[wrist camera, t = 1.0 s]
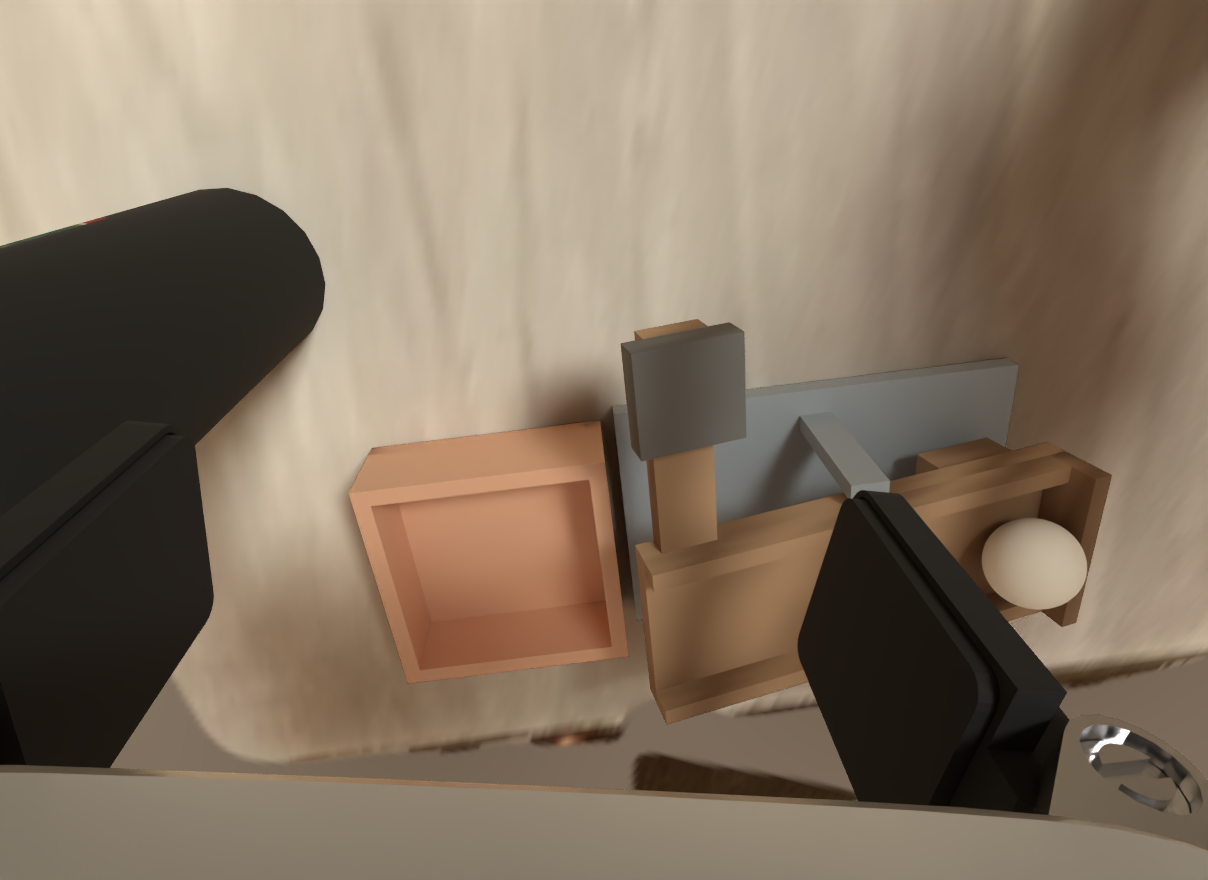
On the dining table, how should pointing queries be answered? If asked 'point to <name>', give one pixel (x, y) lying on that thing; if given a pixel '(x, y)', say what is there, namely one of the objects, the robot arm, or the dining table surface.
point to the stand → (832, 439)
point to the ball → (1034, 563)
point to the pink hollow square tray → (494, 550)
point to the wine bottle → (144, 324)
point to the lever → (791, 524)
